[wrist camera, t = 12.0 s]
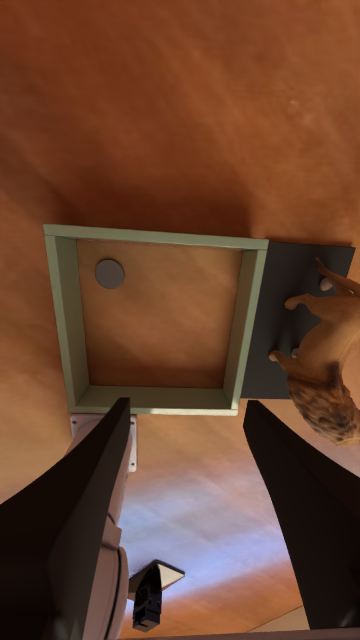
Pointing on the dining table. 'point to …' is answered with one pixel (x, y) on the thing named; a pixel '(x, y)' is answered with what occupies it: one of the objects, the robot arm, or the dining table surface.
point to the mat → (286, 310)
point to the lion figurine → (326, 360)
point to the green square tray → (112, 276)
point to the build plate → (150, 593)
